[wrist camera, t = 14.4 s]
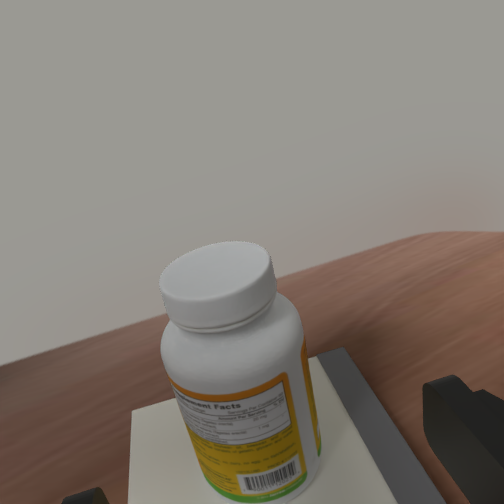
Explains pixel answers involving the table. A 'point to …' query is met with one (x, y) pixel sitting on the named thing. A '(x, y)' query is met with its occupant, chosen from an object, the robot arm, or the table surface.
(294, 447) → the supplement bottle
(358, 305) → the table surface
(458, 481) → the robot arm
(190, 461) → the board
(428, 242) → the table surface
